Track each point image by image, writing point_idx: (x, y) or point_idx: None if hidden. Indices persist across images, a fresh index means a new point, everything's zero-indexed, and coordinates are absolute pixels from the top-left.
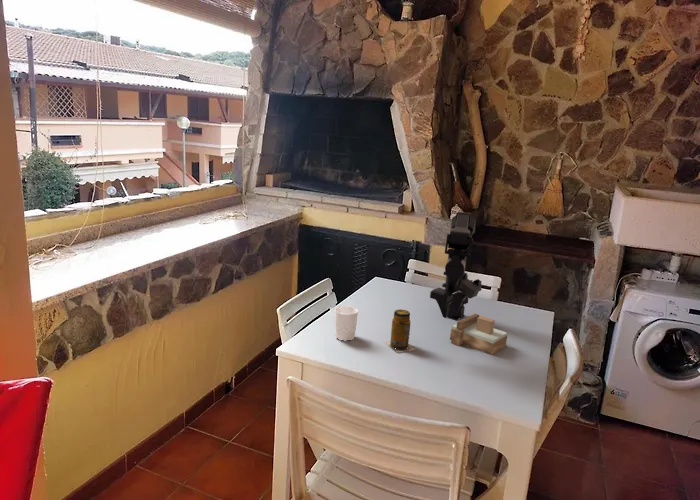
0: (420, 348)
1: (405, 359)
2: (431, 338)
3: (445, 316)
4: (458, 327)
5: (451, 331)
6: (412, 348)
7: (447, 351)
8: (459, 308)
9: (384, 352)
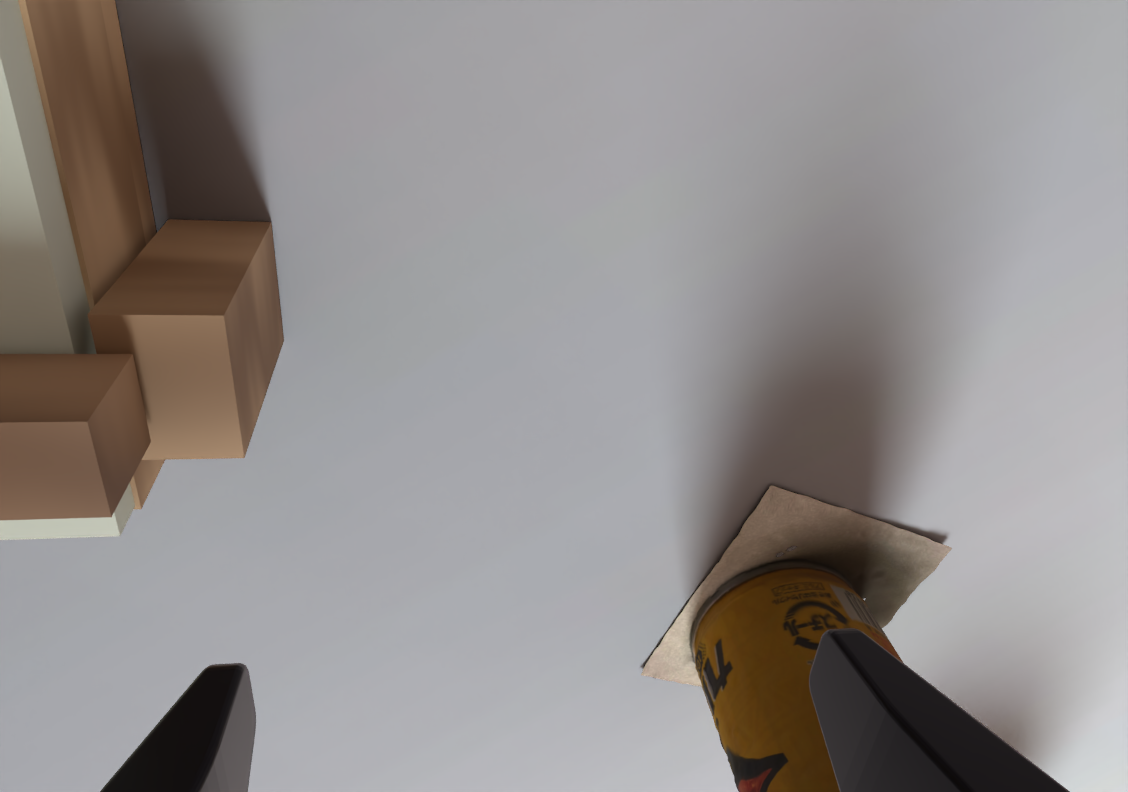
0: (705, 478)
1: (1035, 428)
2: (375, 546)
3: (894, 666)
4: (136, 418)
5: (152, 471)
6: (770, 521)
7: (553, 237)
8: (168, 772)
9: (989, 608)
